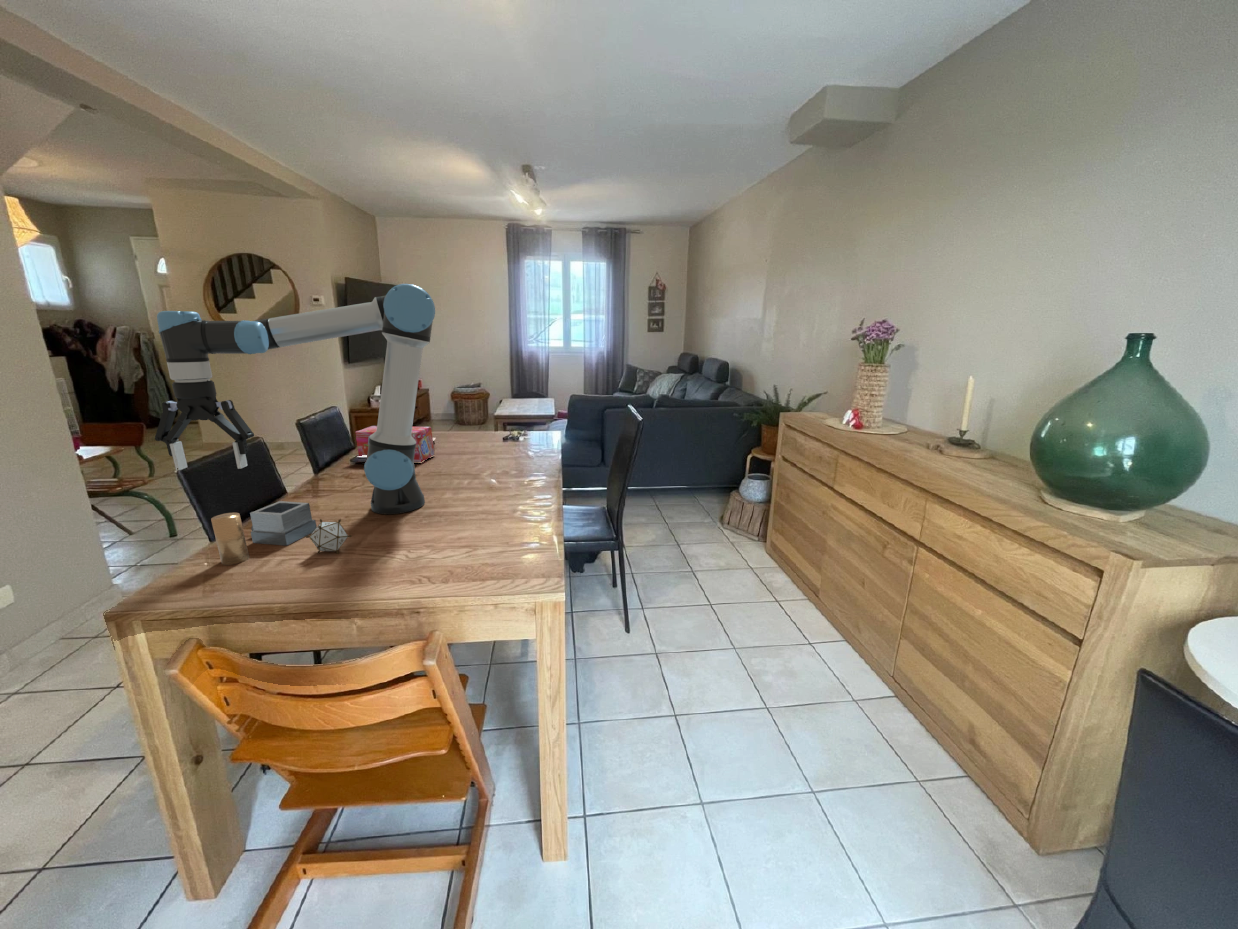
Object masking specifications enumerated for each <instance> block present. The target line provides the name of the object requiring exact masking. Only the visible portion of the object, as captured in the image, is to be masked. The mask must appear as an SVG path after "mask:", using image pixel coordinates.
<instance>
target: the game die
mask: <svg viewBox="0 0 1238 929" xmlns="http://www.w3.org/2000/svg"><path fill="white" fill-rule="evenodd" d="M341 521H342V519H341V518H340V519H338V521H323V519H322V518H319V524H318V525H316V526H317V528H316V529H315V530H314V531H313V532H312V533H311V534H309V535H307V536H305V537H304V538H306V539H308V538H309V539H310V541H311V542H312V543H313V545H314V546H315V548H316V549H317V550H318V551H317V552H316V554H317V555H318V554H320V553H321V552H335V553H336V554H337V555H339V554H340V552H339V550H340V548H341V547H342V546H343V544H344V543H345V542H346V540H348V538H351V537H353V535H351V534H349V535H348V533H347V531H346V530H345V528H344V527H343V525H342V524H341Z"/></svg>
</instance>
